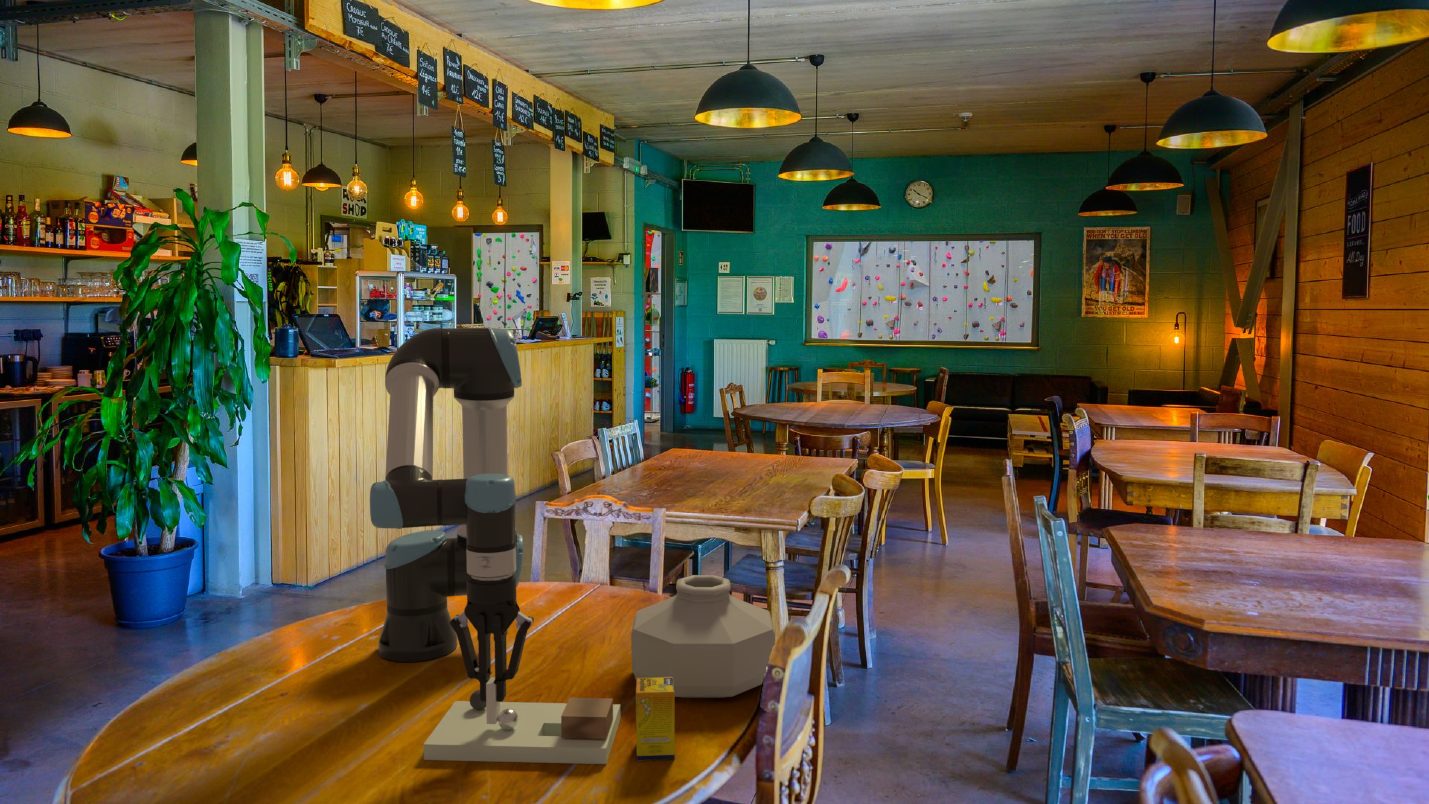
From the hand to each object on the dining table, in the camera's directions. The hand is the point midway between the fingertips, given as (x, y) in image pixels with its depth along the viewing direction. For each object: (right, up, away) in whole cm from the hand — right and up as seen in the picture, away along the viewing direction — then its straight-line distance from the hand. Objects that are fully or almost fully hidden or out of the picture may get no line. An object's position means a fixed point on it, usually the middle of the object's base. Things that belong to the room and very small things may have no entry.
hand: (493, 720), depth 152 cm
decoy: (-4, +1, +7) cm, 9 cm away
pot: (+33, -2, +28) cm, 43 cm away
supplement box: (+26, -5, -2) cm, 26 cm away
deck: (+5, -4, +3) cm, 7 cm away
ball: (+2, 0, 0) cm, 2 cm away
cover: (+15, -1, 0) cm, 15 cm away
